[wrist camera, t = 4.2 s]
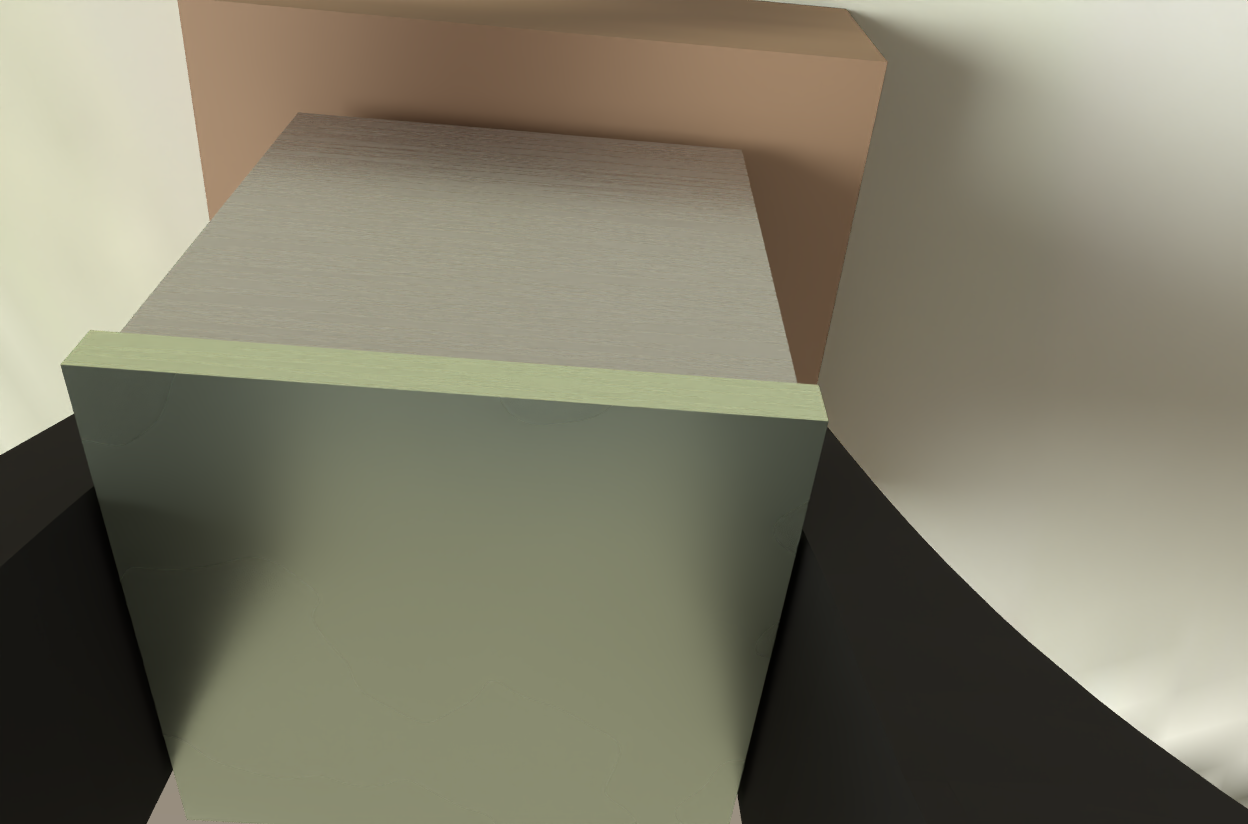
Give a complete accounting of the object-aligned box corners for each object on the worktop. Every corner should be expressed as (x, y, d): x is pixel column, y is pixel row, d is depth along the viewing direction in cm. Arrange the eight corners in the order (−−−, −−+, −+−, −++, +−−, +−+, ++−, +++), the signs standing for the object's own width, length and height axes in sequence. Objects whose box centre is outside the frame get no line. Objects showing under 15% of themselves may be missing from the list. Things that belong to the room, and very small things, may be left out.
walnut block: (845, 9, 12) (887, 62, 10) (755, 475, 16) (772, 584, 14) (258, -46, 12) (177, -3, 10) (308, 440, 16) (257, 546, 14)
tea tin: (753, 141, 10) (828, 421, 6) (695, 495, 13) (724, 849, 9) (286, 101, 10) (61, 363, 6) (326, 469, 13) (186, 820, 9)
